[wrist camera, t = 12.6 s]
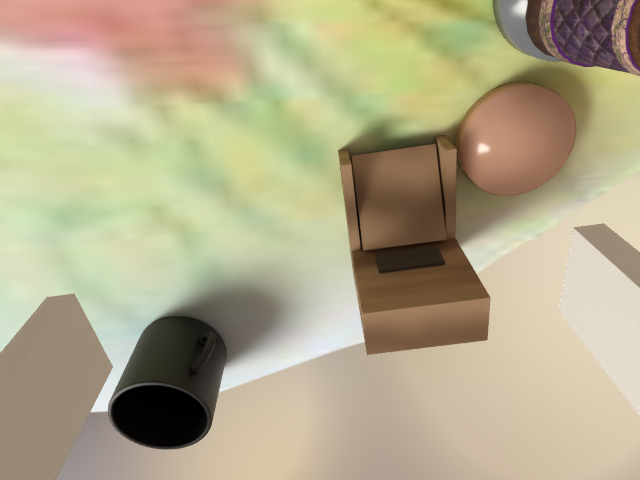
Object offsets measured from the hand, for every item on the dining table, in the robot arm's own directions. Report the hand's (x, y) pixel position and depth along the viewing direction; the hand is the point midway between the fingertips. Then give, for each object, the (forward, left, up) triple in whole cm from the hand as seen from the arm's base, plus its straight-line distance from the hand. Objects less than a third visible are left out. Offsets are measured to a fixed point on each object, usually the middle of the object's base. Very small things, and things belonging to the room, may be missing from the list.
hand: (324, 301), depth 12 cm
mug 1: (+24, -17, -27) cm, 40 cm away
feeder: (+11, +6, -27) cm, 29 cm away
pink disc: (+6, +16, -27) cm, 32 cm away
